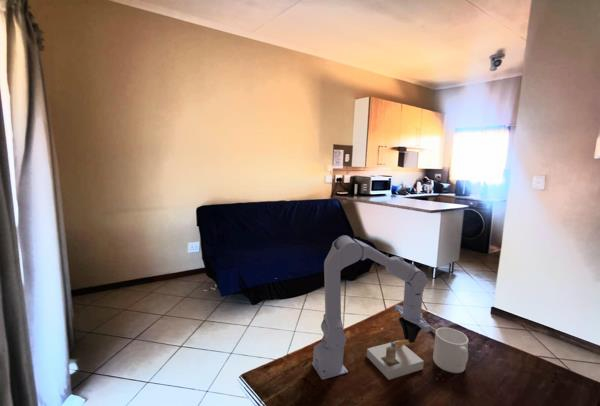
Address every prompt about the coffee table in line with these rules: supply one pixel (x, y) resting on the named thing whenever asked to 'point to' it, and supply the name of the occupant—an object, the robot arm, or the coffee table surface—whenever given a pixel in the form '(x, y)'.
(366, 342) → the coffee table surface
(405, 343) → the latch
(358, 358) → the coffee table surface
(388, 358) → the peg
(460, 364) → the mug
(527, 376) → the coffee table surface
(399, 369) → the white flat block
